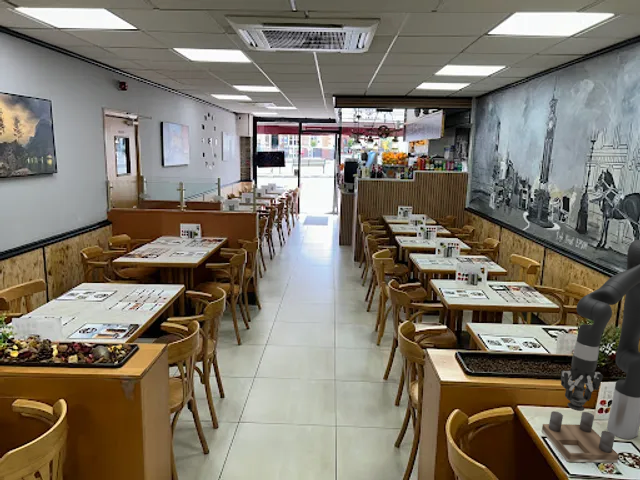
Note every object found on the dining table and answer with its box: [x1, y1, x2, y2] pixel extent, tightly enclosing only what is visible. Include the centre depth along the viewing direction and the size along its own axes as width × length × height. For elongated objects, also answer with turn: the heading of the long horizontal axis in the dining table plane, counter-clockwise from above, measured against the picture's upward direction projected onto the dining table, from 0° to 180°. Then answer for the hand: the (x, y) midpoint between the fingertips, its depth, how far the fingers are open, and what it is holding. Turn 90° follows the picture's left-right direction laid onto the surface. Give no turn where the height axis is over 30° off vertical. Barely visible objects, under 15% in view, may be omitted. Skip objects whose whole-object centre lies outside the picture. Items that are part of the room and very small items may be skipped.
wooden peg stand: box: [541, 410, 620, 464], centre depth 177 cm, size 18×18×9 cm
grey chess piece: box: [567, 381, 588, 412], centre depth 171 cm, size 6×6×12 cm
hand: (577, 399), depth 172 cm, fingers closed on grey chess piece, 6 cm apart
